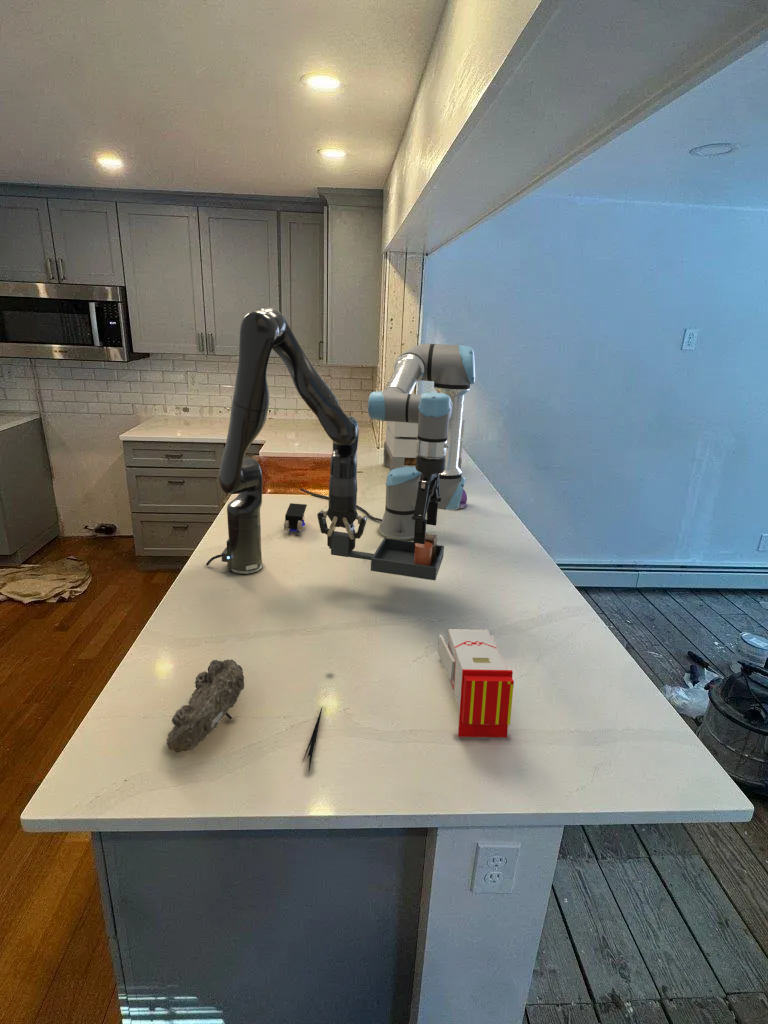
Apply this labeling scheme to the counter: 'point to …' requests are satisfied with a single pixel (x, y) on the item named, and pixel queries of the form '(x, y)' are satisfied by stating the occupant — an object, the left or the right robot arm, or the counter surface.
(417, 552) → the terracotta cylinder
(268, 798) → the counter surface
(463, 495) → the figurine
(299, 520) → the figurine character
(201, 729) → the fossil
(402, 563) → the tray
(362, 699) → the counter surface
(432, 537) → the walnut block
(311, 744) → the feather
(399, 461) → the white crate
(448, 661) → the toy
